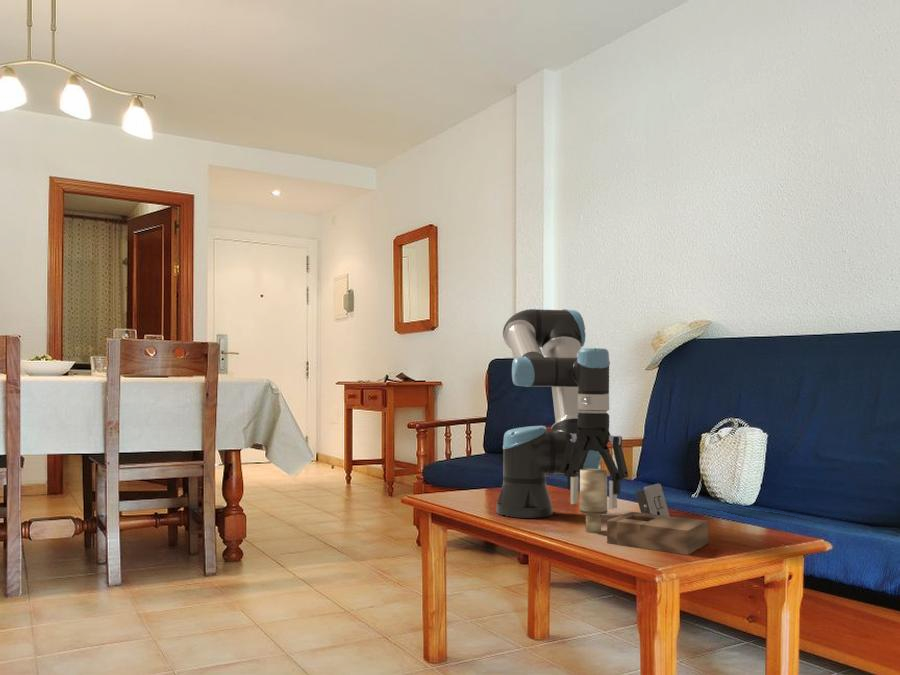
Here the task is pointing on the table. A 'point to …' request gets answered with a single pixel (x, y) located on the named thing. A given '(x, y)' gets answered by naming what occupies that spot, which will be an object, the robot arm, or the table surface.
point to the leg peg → (593, 497)
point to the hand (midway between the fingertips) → (593, 505)
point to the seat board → (658, 532)
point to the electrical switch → (652, 500)
